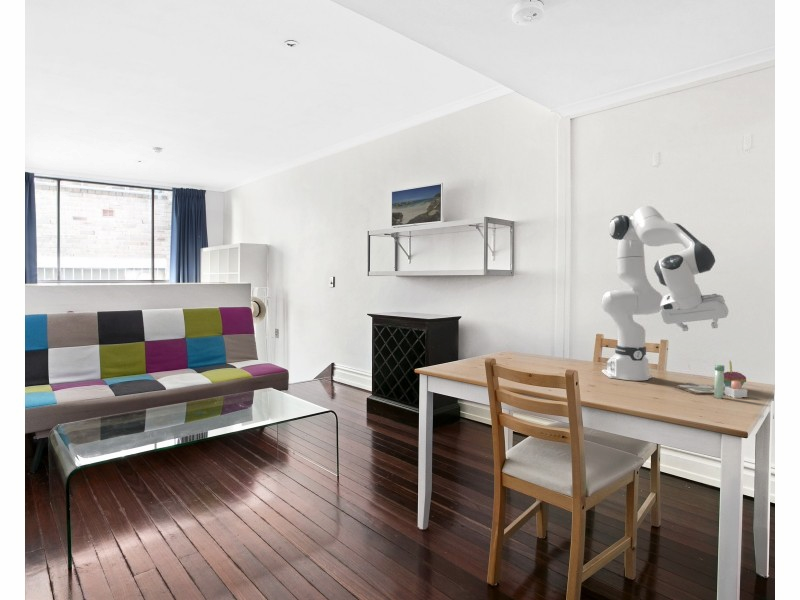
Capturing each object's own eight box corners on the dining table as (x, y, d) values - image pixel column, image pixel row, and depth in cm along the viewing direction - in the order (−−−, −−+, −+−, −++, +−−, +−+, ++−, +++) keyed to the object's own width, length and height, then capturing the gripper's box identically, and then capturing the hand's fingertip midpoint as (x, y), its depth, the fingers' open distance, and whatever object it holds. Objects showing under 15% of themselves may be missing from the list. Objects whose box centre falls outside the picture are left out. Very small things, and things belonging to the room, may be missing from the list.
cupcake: (735, 392, 189) (736, 361, 188) (714, 387, 197) (715, 358, 196) (751, 390, 192) (752, 360, 191) (730, 386, 200) (731, 357, 199)
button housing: (724, 394, 186) (724, 386, 186) (737, 394, 186) (737, 386, 186) (733, 397, 181) (734, 389, 181) (747, 397, 181) (747, 389, 181)
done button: (729, 391, 185) (729, 380, 184) (736, 391, 185) (737, 380, 185) (734, 393, 182) (735, 382, 181) (742, 393, 182) (742, 382, 182)
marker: (711, 396, 182) (712, 364, 182) (719, 396, 182) (720, 364, 182) (717, 398, 179) (718, 366, 179) (725, 398, 180) (726, 366, 179)
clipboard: (671, 385, 201) (671, 382, 201) (704, 385, 201) (705, 382, 201) (695, 394, 186) (695, 391, 186) (731, 394, 186) (731, 391, 186)
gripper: (722, 287, 165) (735, 319, 169) (658, 297, 179) (671, 326, 184) (720, 298, 161) (733, 331, 165) (655, 307, 176) (668, 337, 180)
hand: (700, 328), depth 175 cm, fingers open, 8 cm apart
